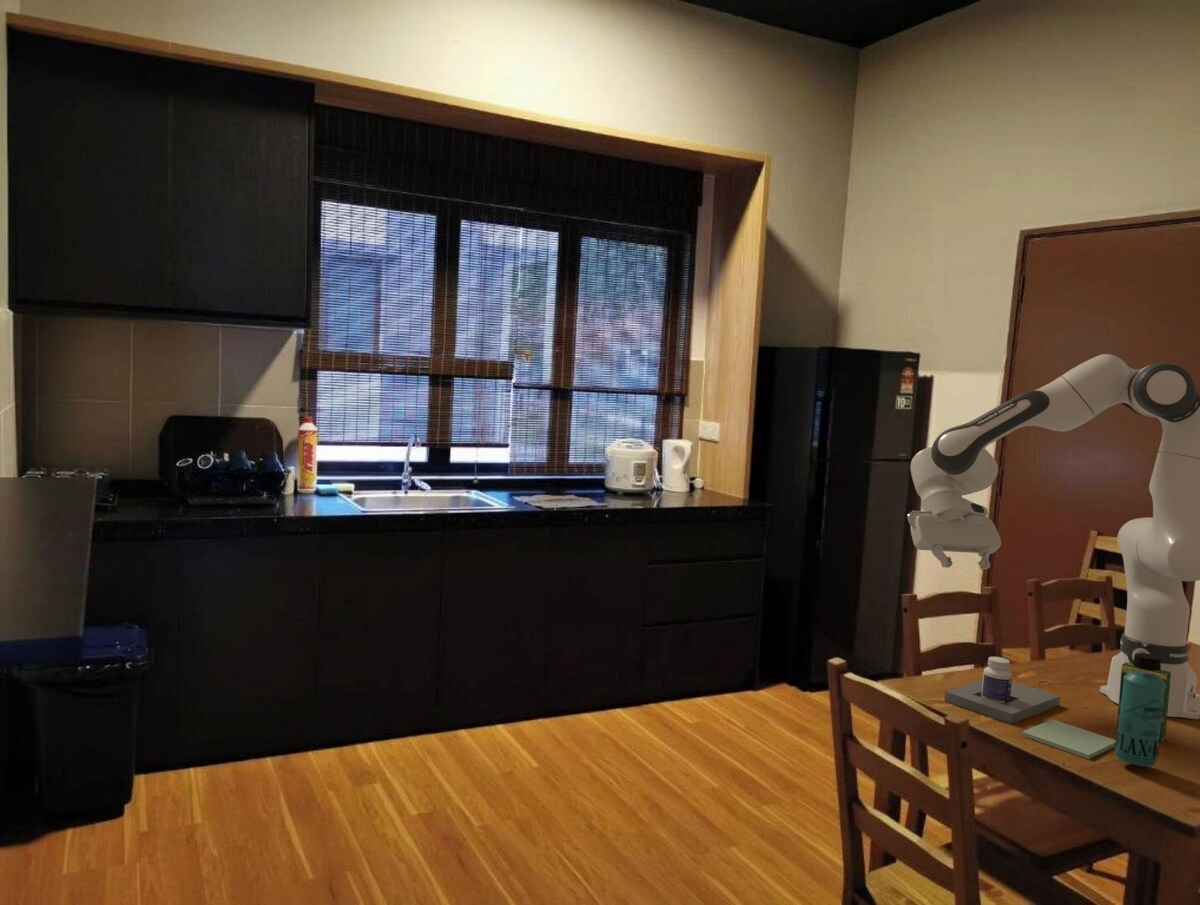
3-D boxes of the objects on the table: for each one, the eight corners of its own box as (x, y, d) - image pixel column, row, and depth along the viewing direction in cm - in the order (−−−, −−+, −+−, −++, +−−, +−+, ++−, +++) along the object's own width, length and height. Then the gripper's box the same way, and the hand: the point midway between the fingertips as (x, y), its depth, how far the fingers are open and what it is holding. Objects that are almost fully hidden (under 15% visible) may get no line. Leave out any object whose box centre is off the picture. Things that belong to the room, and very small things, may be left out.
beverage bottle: (1104, 761, 157) (1116, 650, 155) (1130, 757, 159) (1142, 647, 158) (1139, 777, 151) (1152, 662, 149) (1165, 772, 153) (1178, 659, 152)
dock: (994, 684, 196) (995, 675, 195) (1059, 705, 185) (1060, 695, 184) (944, 701, 183) (945, 691, 183) (1011, 724, 172) (1012, 714, 172)
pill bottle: (1012, 712, 179) (1016, 665, 178) (983, 709, 180) (988, 662, 179) (1005, 703, 184) (1010, 657, 183) (978, 699, 185) (982, 654, 184)
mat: (1051, 723, 174) (1052, 719, 174) (1117, 745, 165) (1117, 740, 165) (1021, 735, 167) (1021, 731, 167) (1088, 759, 157) (1089, 755, 157)
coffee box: (1113, 729, 173) (1120, 663, 172) (1118, 725, 175) (1125, 660, 174) (1161, 743, 167) (1168, 674, 166) (1165, 739, 169) (1173, 672, 168)
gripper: (912, 502, 195) (932, 557, 187) (992, 508, 200) (1015, 561, 192) (898, 518, 200) (916, 572, 191) (977, 523, 205) (998, 576, 197)
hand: (966, 567), depth 192 cm, fingers open, 8 cm apart
